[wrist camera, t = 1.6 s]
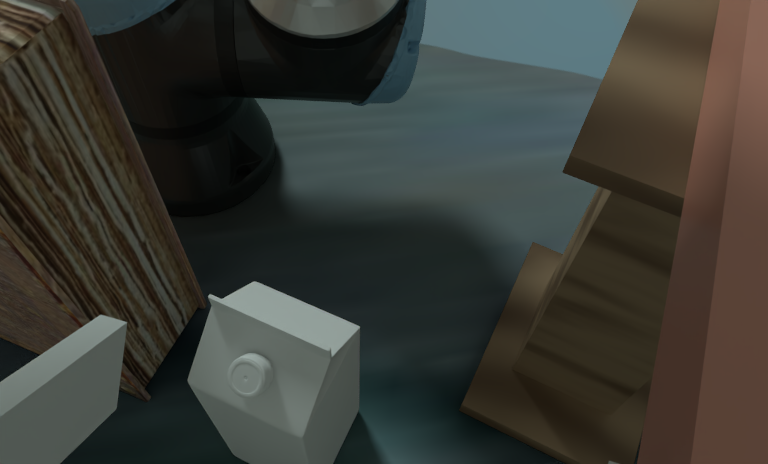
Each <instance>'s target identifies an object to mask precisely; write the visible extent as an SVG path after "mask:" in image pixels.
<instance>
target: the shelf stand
mask: <svg viewBox="0 0 768 464" xmlns="http://www.w3.org/2000/svg"><path fill="white" fill-rule="evenodd" d="M719 2H720V0H638V1H637V3H636V6H635V8H634V11H633V13H632V15H631V17H630V19H629V22H628V24H627V26H626V29H625V31H624V33H623V35H622V38H621V40H620V42H619V44H618V47H617V49H616V51H615V53H614V56H613V58H612V60H611V63H610V65H609V67H608V70H607V72H606V74H605V76H604V79H603V81H602V83H601V85H600V88H599V90H598V92H597V94H596V97H595V99H594V101H593V104H592V106H591V108H590V110H589V113H588V115H587V117H586V119H585V122H584V124H583V126H582V129H581V131H580V133H579V135H578V138H577V140H576V142H575V145H574V147H573V149H572V151H571V154H570V156H569V158H568V161H567V163H566V165H565V167H564V170H563V173H565V174H568V175H571V176H573V177H576V178H578V179H581V180H584V181H586V182H589V183H591V184H594V185H597V186H599V187H598V189H597V191H596V193H595V195H594V196H593V198H592V200H591V202H590V204H589V206H588V208H587V210H586V212H585V214H584V215H583V217H582V219H581V221H580V223H579V225H578V227H577V229H576V231H575V233H574V234H573V236H572V238H571V240H570V242H569V244H568V246H567V248H566V250H565V252H564V254H561V253H558V252H556V251H553V250H551V249H549V248H546V247H544V246H541V245H539V244H536V243H534V242H533V243H532V245H531V247H530V250H529V252H528V254H527V257H526V259H525V261H524V263H523V266H522V268H521V270H520V273H519V275H518V277H517V279H516V282H515V284H514V286H513V289H512V291H511V293H510V295H509V298H508V300H507V302H506V305H505V307H504V309H503V311H502V314H501V316H500V318H499V321H498V323H497V325H496V327H495V330H494V332H493V334H492V337H491V339H490V341H489V343H488V346H487V348H486V350H485V352H484V355H483V357H482V359H481V362H480V364H479V366H478V368H477V371H476V373H475V375H474V378H473V380H472V382H471V384H470V387H469V389H468V391H467V394H466V396H465V398H464V400H463V403H462V405H461V407H460V410H459V411H461V412H463V413H465V414H467V415H469V416H471V417H473V418H475V419H477V420H479V421H481V422H483V423H485V424H487V425H489V426H491V427H493V428H495V429H497V430H499V431H501V432H503V433H505V434H507V435H509V436H511V437H513V438H515V439H517V440H519V441H521V442H523V443H525V444H527V445H529V446H531V447H533V448H535V449H537V450H539V451H541V452H543V453H545V454H547V455H549V456H551V457H553V458H555V459H557V460H559V461H561V462H563V463H565V464H608V462H609V461H612V462H615V463H619V464H634V462H635V458H636V454H637V450H638V446H639V442H640V438H641V434H642V430H643V426H644V421H645V416H646V410H647V405H648V399H649V393H650V388H651V382H652V377H653V371H654V365H655V360H656V354H657V349H658V343H659V338H660V332H661V326H662V321H663V315H664V310H665V304H666V298H667V293H668V287H669V282H670V276H671V270H672V265H673V259H674V254H675V248H676V243H677V237H678V231H679V226H680V220H681V215H682V209H683V203H684V198H685V192H686V187H687V181H688V176H689V170H690V164H691V159H692V153H693V148H694V142H695V136H696V131H697V125H698V120H699V114H700V109H701V103H702V97H703V92H704V86H705V81H706V75H707V69H708V64H709V58H710V53H711V47H712V42H713V36H714V30H715V25H716V19H717V14H718V8H719Z"/></svg>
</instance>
